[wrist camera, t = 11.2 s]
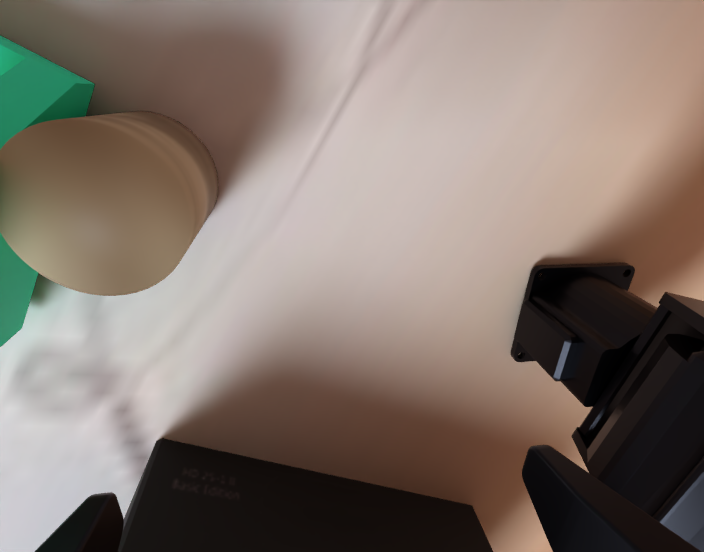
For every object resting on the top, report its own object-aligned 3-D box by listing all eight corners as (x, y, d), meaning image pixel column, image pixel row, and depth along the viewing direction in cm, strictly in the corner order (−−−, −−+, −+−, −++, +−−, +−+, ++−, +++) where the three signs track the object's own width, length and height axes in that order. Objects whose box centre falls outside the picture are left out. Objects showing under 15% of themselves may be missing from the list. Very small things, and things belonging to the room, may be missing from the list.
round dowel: (210, 112, 17) (174, 120, 11) (224, 236, 19) (200, 291, 14) (67, 109, 16) (-45, 116, 10) (100, 239, 18) (23, 299, 13)
